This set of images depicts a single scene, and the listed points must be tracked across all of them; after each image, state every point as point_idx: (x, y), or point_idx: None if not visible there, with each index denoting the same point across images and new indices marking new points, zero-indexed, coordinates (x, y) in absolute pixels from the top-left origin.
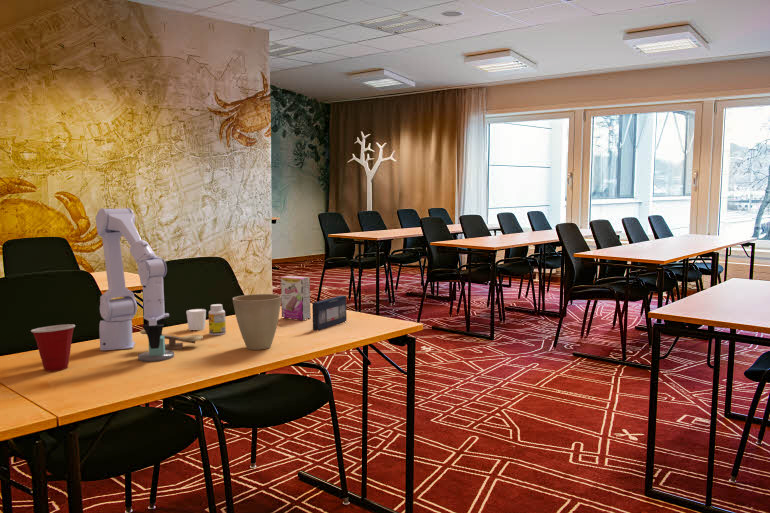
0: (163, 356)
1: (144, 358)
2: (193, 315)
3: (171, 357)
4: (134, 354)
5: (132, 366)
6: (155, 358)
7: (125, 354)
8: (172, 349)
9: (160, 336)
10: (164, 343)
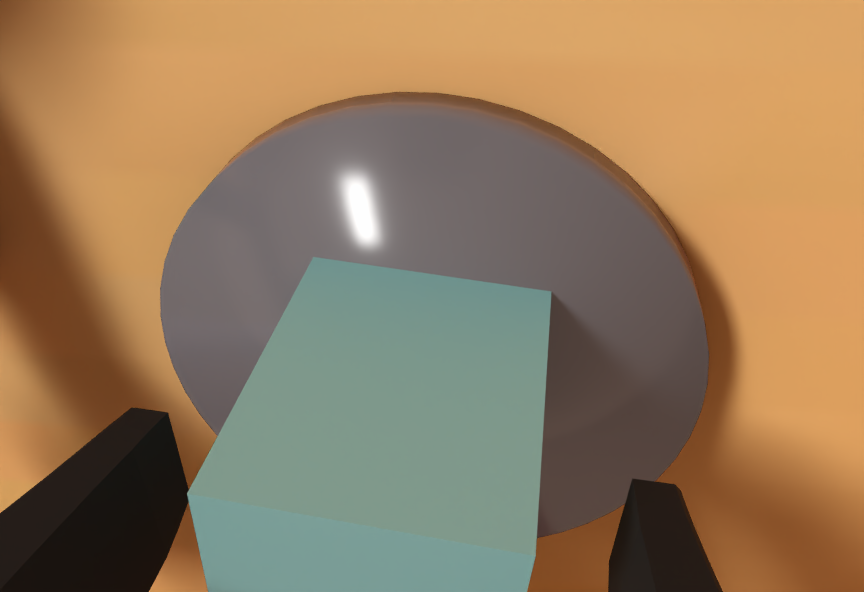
0: (659, 302)
1: (615, 503)
2: None
3: (589, 151)
4: (187, 508)
5: (794, 577)
6: (702, 401)
7: (173, 562)
8: None
9: (280, 561)
10: (310, 373)
